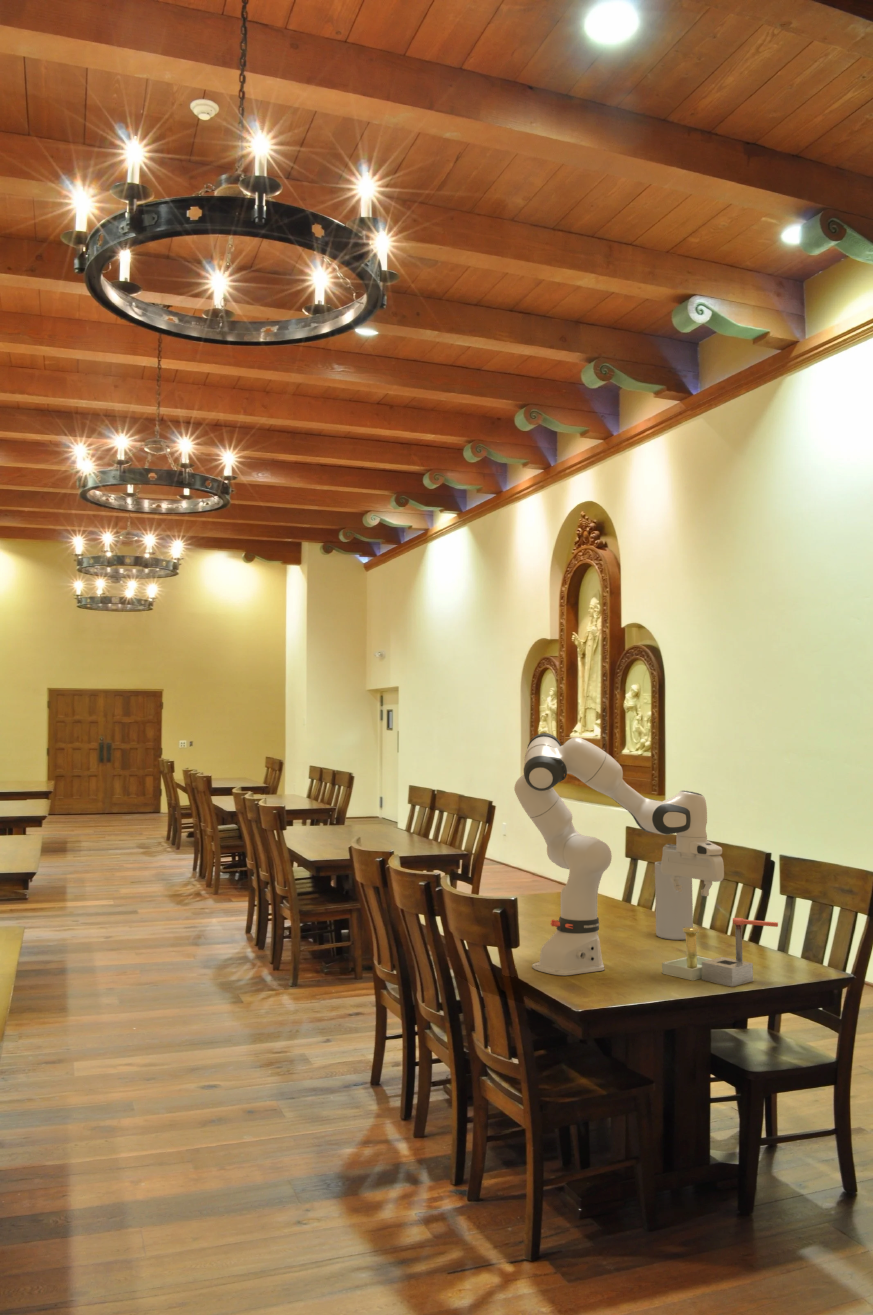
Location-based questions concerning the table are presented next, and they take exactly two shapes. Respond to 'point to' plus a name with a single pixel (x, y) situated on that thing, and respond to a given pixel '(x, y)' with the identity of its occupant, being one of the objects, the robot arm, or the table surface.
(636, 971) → the table surface
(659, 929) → the cylinder vase
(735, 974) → the socket block
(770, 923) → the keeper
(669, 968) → the tray
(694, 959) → the pin
